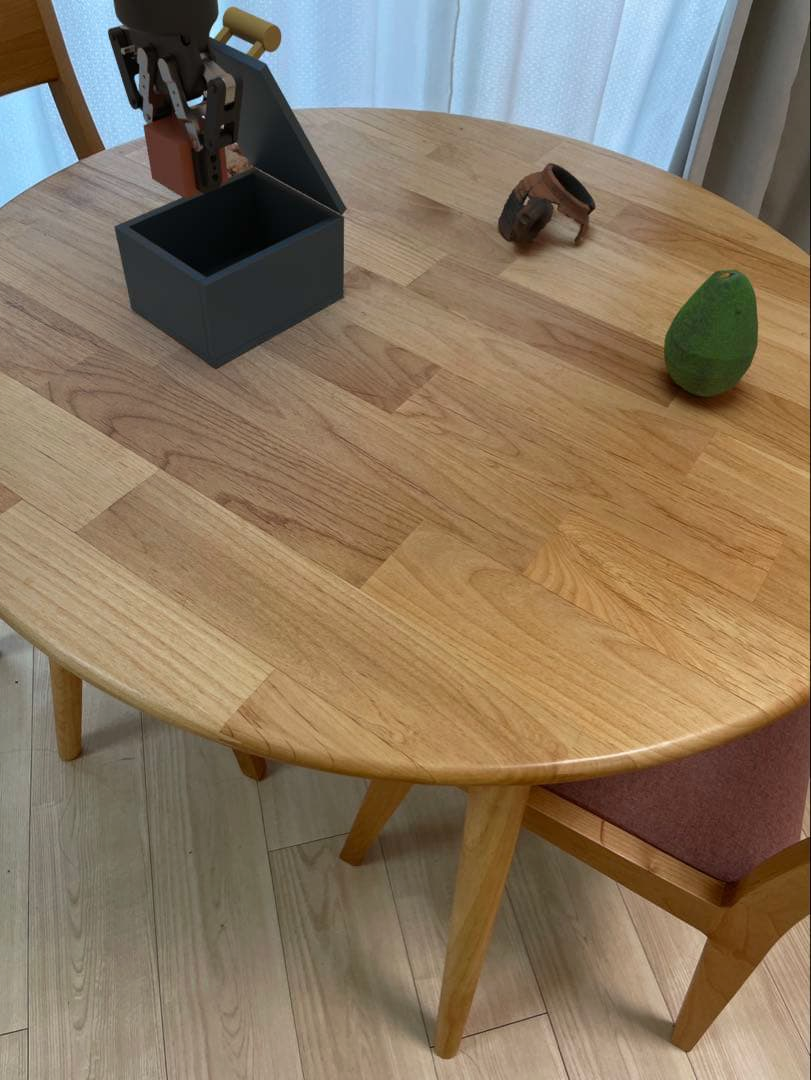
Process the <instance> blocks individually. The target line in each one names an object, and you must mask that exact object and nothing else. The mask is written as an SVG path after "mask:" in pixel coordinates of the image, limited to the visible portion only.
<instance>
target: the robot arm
mask: <svg viewBox="0 0 811 1080" xmlns="http://www.w3.org/2000/svg"><path fill="white" fill-rule="evenodd" d="M112 1H113V7H114V12H115V13H114V14H115V15H116V18H117V20H118V22H119V23H121V25H118V26H114V27H111V28H108V30H107V37H108V40H109V43H110V46H111V49H112V52H113V55H114V59H115V62H116V65H117V68H118V72H119V74H120V78H121V81H122V84H123V87H124V90H125V95H126V98H127V100H128V103H129V105H130V107H131V109H133V110H134V111H135V110H140V111H141V112H142V117H143V120H144V122H145V124H148V123H151V122H154V121H157V120H159V119H162V118H165V117H168V116H170V115H173V114H176V115H177V117H178V119H179V120H181V121H183V122H184V123H185V126H186V129H187V132H188V136H189V139H190V142H191V145H192V147H193V148H192V149H191V153H192V161H193V169H194V176H195V184H196V189H197V190H198V191H200V192H202V193H204V194H206V193H208V192H210V191H213V190H215V189H217V188H219V187H220V185H221V183H222V170H221V160H220V148H223V147H225V146H228V145H231V144H237V143H236V142H237V140H238V130H239V121H240V112H241V102H242V93H243V79H242V76H241V75H240V73H239V72H237V71H235V72H232V73H229V74H227V73H226V72H225V71H224V70H223V69H222V68H220V67H219V66H218V65H217V64H216V56H215V53H214V50H213V48H212V45H211V41H210V37H211V36H210V34H211V31H212V28H213V26H214V25H215V23H216V22H217V20H218V18H219V15H220V13H219V12H220V11H219V0H112ZM137 75H138V85H137V82H136V78H135V77H136V76H137ZM201 97H202V101H201V102H199V103H196V104H193V105H191V106H190V105H189V104H188V103H189V102H191V101H194V100H197V99H200V98H201ZM199 117H203V118H205V131H204V132H201V130H200V127H199V124H198V119H199ZM222 126H223V129H221V127H222Z"/></svg>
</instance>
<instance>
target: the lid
mask: <svg viewBox="0 0 811 1080" xmlns="http://www.w3.org/2000/svg"><path fill="white" fill-rule="evenodd" d="M232 37H236V38H238V39H240V40H242V41H244V42H246V43H249V44H250V45H252V46H251V47H250V48H249V49H248V51H247V52H246V53H245V52H244V51H241V50H239V49H236V48H235V47H233V46H230V45H228V44H227V43H228V42H229V41H230V39H232ZM210 41H211V45H212V48H213V50H214V53H215V56H216V64H217V65H218V66H219V67H220V68H222V69H223V70H224V71H225V72H226V73H227V74H229V73H232V72H235V71H237V72H239V73H240V75H241V76H242V79H243V93H242V102H241V112H240V121H239V130H238V140H237V142H236V143H235V144H236V145H238V146H239V147H240V149H241V150H242V152H243V154H244V155H245V157H246V158H247V160H248V161H249V163H250V164H251V165H252V166H253V167H255V168H257V169H258V170H260V171H262V172H264V173H265V174H267V175H269V176H271V177H273V178H274V179H276V180H278V181H280V182H282V183H284V184H285V185H287V186H289V187H291V188H293V189H294V190H296V191H298V192H300V193H302V194H304V195H305V196H307V197H309V198H311V199H313V200H314V201H316V202H318V203H320V204H322V205H323V206H325V207H327V208H329V209H331V210H333V211H334V212H336V213H337V214H340V215H342V216H344V215H343V214H344V213H345V212H346V211H347V210H348V208H347V207H346V204H345V203H344V201H343V199H342V197H341V196H340V194H339V192H338V190H337V188H336V187H335V185H334V183H333V181H332V179H331V178H330V175H329V174H328V172H327V170H326V169H325V166H324V165H323V163H322V161H321V160H320V158H319V156H318V154H317V153H316V150H315V149H314V147H313V145H312V143H311V142H310V140H309V138H308V136H307V134H306V132H305V131H304V129H303V127H302V125H301V123H300V121H299V120H298V118H297V117H296V114H295V112H294V111H293V109H292V107H291V106H290V104H289V102H288V100H287V99H286V96H285V95H284V93H283V91H282V89H281V87H280V85H279V84H278V82H277V80H276V78H275V77H274V75H273V73H272V71H271V69H270V67H269V66H268V65H267V63H266V62H264V61H261V60H260V59H261V57H262V56H263V55H264V53H265V52H269V53H274V52H276V51H277V50H278V48H279V47H280V45H281V43H282V31H281V29H280V27H279V26H278V25H276V24H274V23H272V22H269V21H267V20H265V19H263V18H261V17H259V16H257V15H254V14H252V13H250V12H247V11H245V10H243V9H240V8H238V7H236V6H229V7H228V8H227V9H225V11H224V13H223V16H222V28H221V29H220V31H219V32H218V33H217V34H216V35H215V36H214V37H212V36H210Z"/></svg>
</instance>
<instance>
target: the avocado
mask: <svg viewBox="0 0 811 1080" xmlns="http://www.w3.org/2000/svg"><path fill="white" fill-rule="evenodd" d="M665 333H666V334H665V337H664V342H663V343H664V346H663V357H664V364H665V368H666V370H667V372H668V374H669V376H670V379H672V381H673V383H675V384H676V385H677V386H679V387H680V388H682V389H683V390H685V391H686V392H688V393H690V394H693V395H695V396H698V397H705V398H707V397H708V398H713V397H717V396H718V395H721V394H723V393H725V392H727V391H729V390H731V389H734V388H735V387H736V386H737V384H738V383H739V382H740V381H741V379H742V378H743V377H744V375H746V373H747V372H748V370H749V369H750V367H751V366H752V364H753V361H754V358H755V355H756V351H757V349H758V342H759V341H758V339H759V318H758V304H757V297H756V292H755V290H754V287H753V285H752V283H751V280H749V278H748V277H747V275H745V274H744V273H742V272H741V271H740V270H737V269H726V270H725V269H724V270H716V271H714V272H713V273H712V274H711V275H710V276H709V277H708V278H707V279H705V281H704V282H703V283H702V284H700V286H699V287H698V288H697V289H696V290H695V292H693V293H692V295H691V296H690V297H689V298H688V299H687V301H686V302H685V303H684V304H683V305H682V307H680V309H679V310H678V311H677V313H676V315H675V316H674V317H673V320H672V322H671V324H670V326H669V327H668V329H667V331H666V332H665Z"/></svg>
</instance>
